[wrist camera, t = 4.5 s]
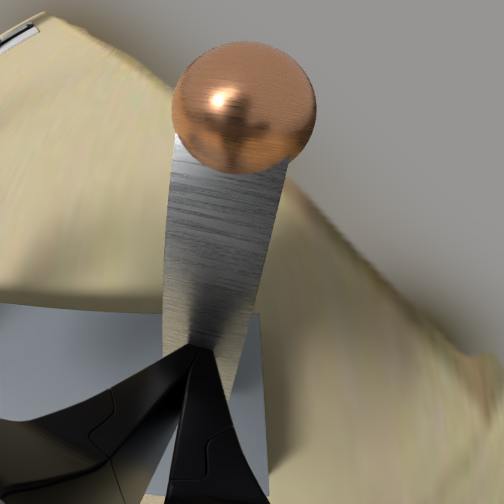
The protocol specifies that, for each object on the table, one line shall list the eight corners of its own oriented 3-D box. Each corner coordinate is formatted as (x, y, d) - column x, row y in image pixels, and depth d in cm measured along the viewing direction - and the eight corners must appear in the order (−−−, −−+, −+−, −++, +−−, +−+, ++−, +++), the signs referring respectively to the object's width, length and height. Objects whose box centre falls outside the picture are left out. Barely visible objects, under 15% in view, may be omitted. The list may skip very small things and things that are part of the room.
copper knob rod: (230, 439, 9) (341, 43, 4) (149, 416, 10) (162, 20, 4) (241, 378, 12) (321, 69, 7) (172, 360, 12) (207, 50, 7)
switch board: (262, 481, 12) (269, 496, 10) (-45, 413, 10) (-66, 410, 7) (254, 324, 16) (259, 313, 14) (-39, 304, 14) (-58, 293, 11)
